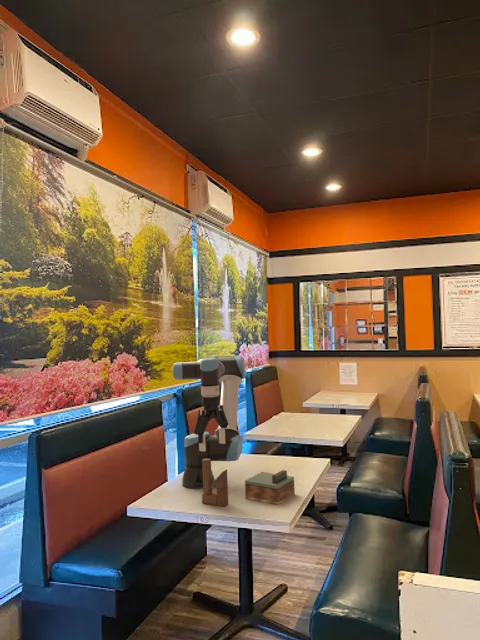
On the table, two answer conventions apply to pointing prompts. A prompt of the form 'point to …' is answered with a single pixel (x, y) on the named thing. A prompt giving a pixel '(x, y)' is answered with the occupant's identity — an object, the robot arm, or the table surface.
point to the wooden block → (214, 486)
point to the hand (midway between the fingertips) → (212, 447)
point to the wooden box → (269, 493)
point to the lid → (270, 479)
